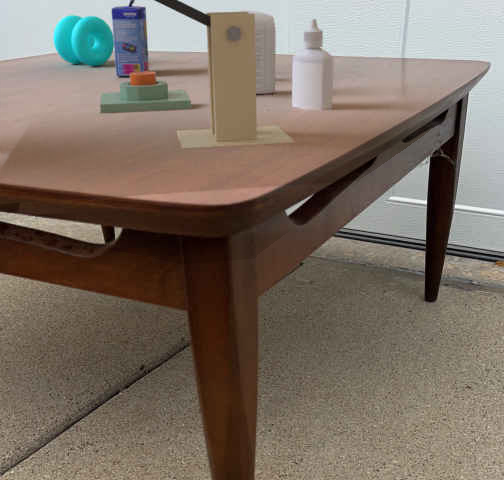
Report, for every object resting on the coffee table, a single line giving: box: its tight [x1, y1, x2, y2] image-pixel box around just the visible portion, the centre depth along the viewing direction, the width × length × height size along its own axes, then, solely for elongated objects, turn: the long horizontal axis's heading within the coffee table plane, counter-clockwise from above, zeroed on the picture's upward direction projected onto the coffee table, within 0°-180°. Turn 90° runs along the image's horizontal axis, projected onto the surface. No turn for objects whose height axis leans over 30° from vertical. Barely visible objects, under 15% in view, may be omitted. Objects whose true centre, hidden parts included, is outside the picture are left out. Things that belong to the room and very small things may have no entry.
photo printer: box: [231, 10, 277, 95], centre depth 107 cm, size 10×4×12 cm, turn 105°
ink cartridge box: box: [111, 0, 150, 78], centre depth 132 cm, size 10×6×14 cm, turn 1°
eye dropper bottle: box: [291, 18, 334, 111], centre depth 90 cm, size 4×6×12 cm
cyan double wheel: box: [53, 14, 114, 67], centre depth 149 cm, size 10×10×10 cm
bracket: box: [176, 11, 296, 150], centre depth 74 cm, size 12×9×14 cm
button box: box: [99, 79, 192, 114], centre depth 96 cm, size 12×10×4 cm
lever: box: [153, 0, 211, 28], centre depth 70 cm, size 15×3×3 cm, turn 100°
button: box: [129, 70, 157, 85], centre depth 95 cm, size 4×4×2 cm
